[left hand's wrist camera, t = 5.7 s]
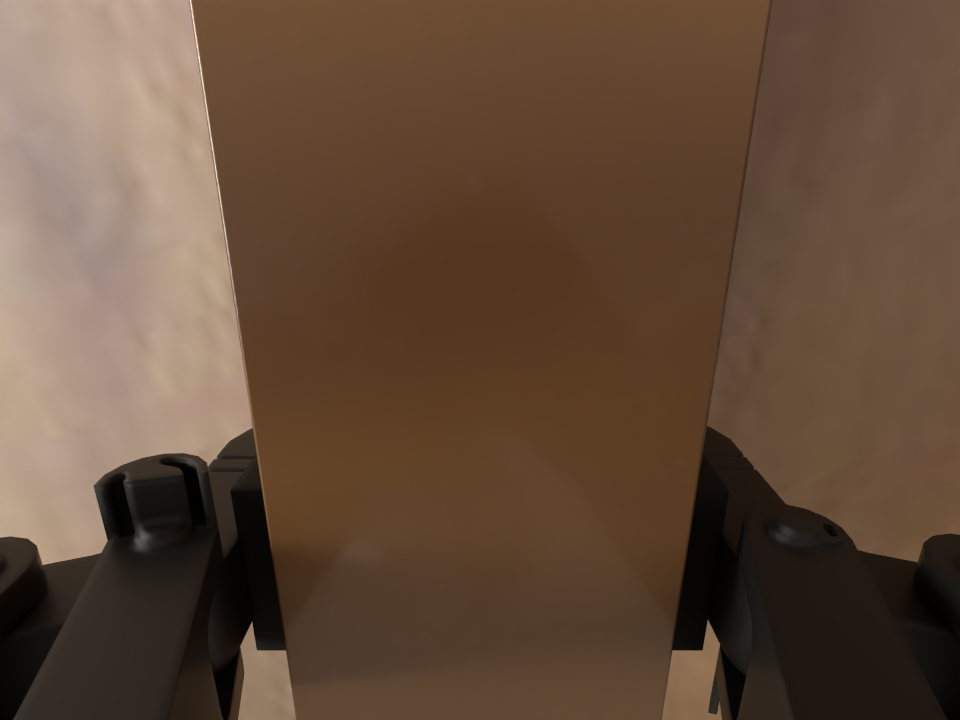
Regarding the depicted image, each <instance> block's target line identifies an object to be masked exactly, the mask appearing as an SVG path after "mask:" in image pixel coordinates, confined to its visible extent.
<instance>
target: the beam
mask: <svg viewBox="0 0 960 720" xmlns="http://www.w3.org/2000/svg"><path fill="white" fill-rule="evenodd" d="M189 3H190V10H191V17H192V23H193V30H194V37H195V43H196V50H197V57H198V64H199V70H200V77H201V84H202V90H203V97H204V104H205V110H206V117H207V124H208V130H209V137H210V144H211V151H212V157H213V164H214V171H215V177H216V184H217V191H218V197H219V204H220V211H221V218H222V224H223V231H224V238H225V244H226V251H227V258H228V264H229V271H230V278H231V284H232V291H233V298H234V305H235V311H236V318H237V325H238V331H239V338H240V345H241V351H242V358H243V365H244V372H245V378H246V385H247V392H248V398H249V405H250V412H251V418H252V425H253V432H254V438H255V445H256V452H257V459H258V465H259V472H260V479H261V485H262V492H263V499H264V505H265V512H266V519H267V526H268V532H269V539H270V546H271V552H272V559H273V566H274V572H275V579H276V586H277V592H278V599H279V606H280V613H281V619H282V626H283V633H284V639H285V646H286V653H287V659H288V666H289V673H290V679H291V686H292V693H293V700H294V706H295V713H296V720H662V713H663V707H664V700H665V694H666V687H667V681H668V674H669V668H670V661H671V655H672V648H673V642H674V635H675V629H676V622H677V616H678V609H679V603H680V596H681V590H682V583H683V577H684V570H685V564H686V557H687V551H688V544H689V538H690V531H691V525H692V518H693V512H694V505H695V499H696V492H697V486H698V479H699V473H700V466H701V460H702V453H703V447H704V440H705V434H706V427H707V421H708V414H709V408H710V401H711V395H712V388H713V382H714V375H715V369H716V362H717V356H718V349H719V343H720V336H721V330H722V323H723V317H724V310H725V304H726V297H727V291H728V284H729V278H730V271H731V265H732V258H733V252H734V245H735V239H736V232H737V226H738V219H739V212H740V206H741V199H742V193H743V186H744V180H745V173H746V167H747V160H748V154H749V147H750V141H751V134H752V128H753V121H754V115H755V108H756V102H757V95H758V89H759V82H760V76H761V69H762V63H763V56H764V50H765V43H766V37H767V30H768V24H769V17H770V11H771V4H772V0H189Z"/></svg>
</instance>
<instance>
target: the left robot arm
mask: <svg viewBox="0 0 960 720" xmlns="http://www.w3.org/2000/svg"><path fill="white" fill-rule="evenodd" d="M94 489H95V493H96V497H97V501H98V504H99V508H100V512H101V516H102V520H103V524H104V527H105V531H106V535H107V539H108V542H107V544H106V546H105V547H104V549H103V551H102V553H100V554H96V555H92V556H87V557H82V558H77V559H72V560H67V561H61V562H56V563H51V564H46V565H42V562H41V559H40V555H39V552H38V549H37V546H36V545H35V544H34V543H32V542H31V541H30V540H28V539H25V538H18V537H3V538H0V720H238V715H239V708H240V700H241V693H242V686H243V679H244V667H243V659H242V654H241V648H240V645H241V643H242V641H243V639H244V637H245V635H246V633H247V631H248V629H249V626H250V624H251V622H252V623H253V629H254V635H255V641H256V646H257V650H286V646H285V639H284V633H283V626H282V619H281V613H280V606H279V599H278V592H277V586H276V579H275V572H274V566H273V559H272V552H271V546H270V539H269V532H268V526H267V519H266V512H265V505H264V499H263V492H262V485H261V479H260V472H259V465H258V459H257V452H256V445H255V438H254V432H253V428H251V429H250V430H248V431H246V432H245V433H243V434H241V435H240V436H238V437H236V438H234V439H233V440H231V441H230V442H229V443H228V444H227V445H226V446H225V447H224V449H223V450H222V451H221V452H220V453H219V455H218V456H217V459H214V460H213V462H212V463H211V464H210V465H209V466H208V467H207V463H206V462H205V461H204V460H202V459H201V458H200V457H198V456H194V455H189V454H184V453H178V454H161V455H156V456H151V457H145V458H141V459H139V460H136V461H133V462H130V463H127V464H124V465H122V466H120V467H118V468H116V469H114V470H113V471H111V472H109V473H107V474H105V475H104V476H103V477H102V478H101V479H100V480H99V481H98V482H97V483H96V484H95V485H94ZM707 620H709V622H710V624H711V626H712V628H713V630H714V633H715V635H716V637H717V639H718V641H719V643H720V648H719V654H718V659H717V665H716V670H715V676H714V681H713V687H712V692H711V698H710V705H709V713H712V714H717V711H718V705H719V701H720V706H721V714H722V720H960V535H956V534H944V535H936V536H932V537H931V538H929V539H928V540H927V541H925V542H924V544H923V547H922V550H921V554H920V557H919V560H918V562H913V561H908V560H902V559H897V558H892V557H887V556H882V555H877V554H871V553H867V552H863V551H859V550H857V548H856V546H855V544H854V543H853V541H852V539H851V538H850V537H849V536H848V535H847V533H846V532H845V531H844V530H843V529H842V528H841V527H840V526H838V525H837V524H835V523H834V522H832V521H831V520H829V519H828V518H826V517H824V516H821V515H819V514H817V513H814V512H812V511H809V510H807V509H804V508H799V507H795V506H790V505H786V504H785V503H784V502H783V500H782V499H781V498H780V497H779V496H778V495H777V493H776V492H775V491H774V490H773V489H772V488H771V486H770V485H769V484H768V483H767V482H766V481H765V479H764V478H763V477H762V476H761V475H760V473H759V472H758V471H757V470H754V466H753V465H752V464H751V463H750V462H749V461H748V459H747V458H746V457H743V454H742V452H741V451H740V450H739V449H738V448H737V447H736V445H735V444H734V443H733V442H732V441H731V440H730V439H729V438H727V437H726V436H724V435H722V434H720V433H719V432H717V431H715V430H714V429H712V428H710V427H706V434H705V440H704V447H703V453H702V460H701V466H700V473H699V479H698V486H697V492H696V499H695V505H694V512H693V518H692V525H691V531H690V538H689V544H688V551H687V557H686V564H685V570H684V577H683V583H682V590H681V596H680V603H679V609H678V616H677V622H676V629H675V635H674V642H673V648H672V650H703V644H704V638H705V632H706V626H707Z"/></svg>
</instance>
